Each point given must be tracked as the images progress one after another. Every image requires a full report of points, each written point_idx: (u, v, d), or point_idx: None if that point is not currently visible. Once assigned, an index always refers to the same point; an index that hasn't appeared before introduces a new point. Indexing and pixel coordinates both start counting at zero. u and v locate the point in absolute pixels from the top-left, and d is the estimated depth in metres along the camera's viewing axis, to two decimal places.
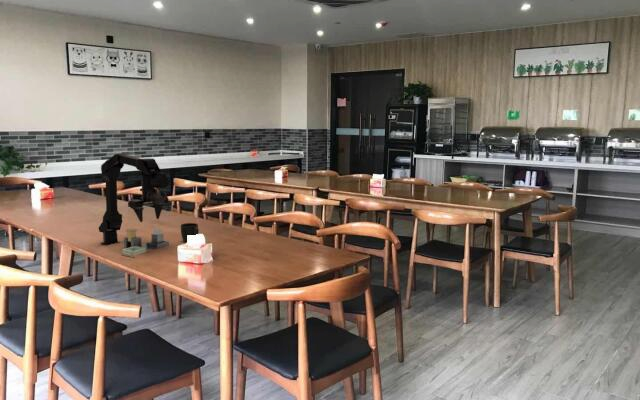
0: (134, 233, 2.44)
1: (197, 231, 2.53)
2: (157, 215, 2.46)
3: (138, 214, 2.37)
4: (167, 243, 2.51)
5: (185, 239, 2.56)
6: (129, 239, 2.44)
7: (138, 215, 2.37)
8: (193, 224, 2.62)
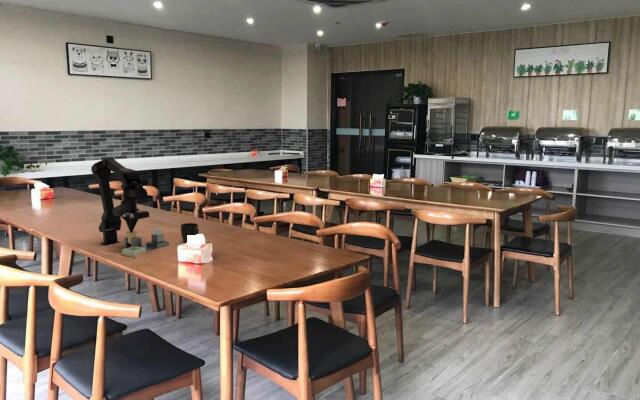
0: (134, 235, 2.44)
1: (197, 231, 2.53)
2: None
3: None
4: (167, 243, 2.51)
5: (185, 239, 2.56)
6: (129, 241, 2.44)
7: None
8: (193, 224, 2.62)
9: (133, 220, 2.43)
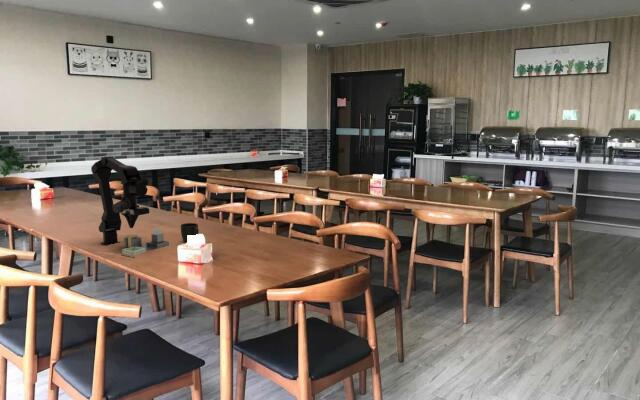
0: None
1: (197, 231, 2.53)
2: None
3: None
4: (167, 243, 2.51)
5: (185, 239, 2.56)
6: (129, 245, 2.44)
7: None
8: (193, 224, 2.62)
9: (133, 216, 2.43)
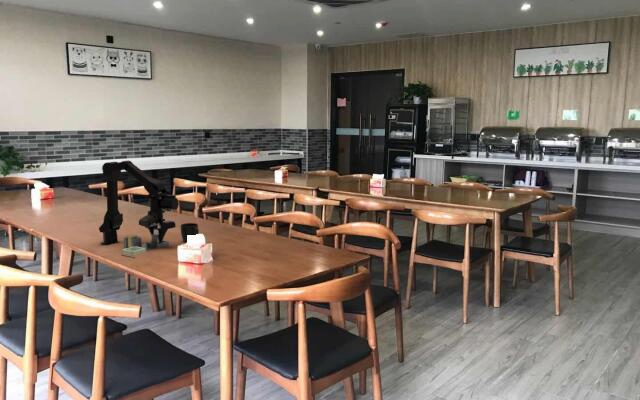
0: None
1: (197, 231, 2.53)
2: None
3: None
4: (167, 243, 2.51)
5: (185, 239, 2.56)
6: (129, 245, 2.44)
7: None
8: (193, 224, 2.62)
9: (162, 230, 2.48)
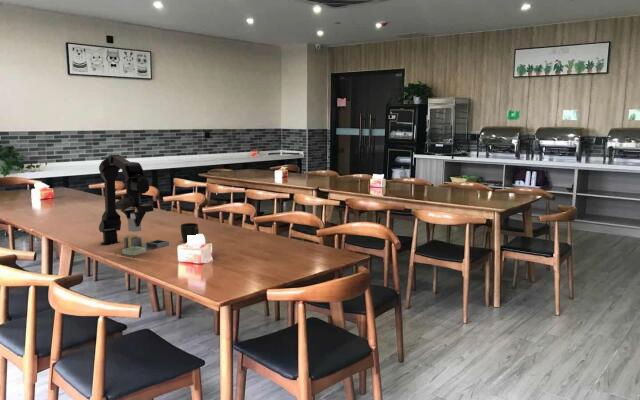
0: None
1: (197, 231, 2.53)
2: None
3: None
4: (167, 243, 2.51)
5: (185, 239, 2.56)
6: (129, 245, 2.44)
7: None
8: (193, 224, 2.62)
9: (139, 214, 2.34)
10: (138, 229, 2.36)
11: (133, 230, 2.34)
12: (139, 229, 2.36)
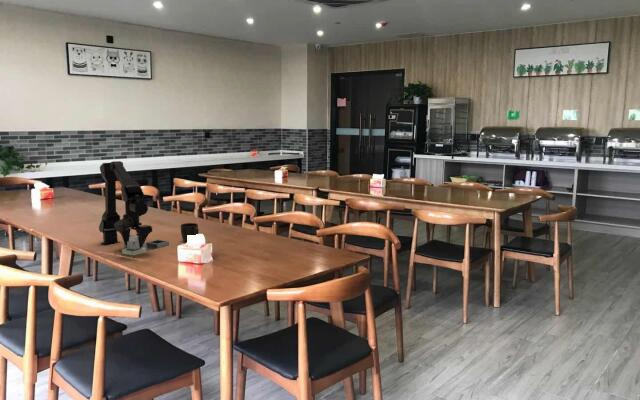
0: None
1: (197, 231, 2.53)
2: None
3: None
4: (167, 243, 2.51)
5: (185, 239, 2.56)
6: None
7: None
8: (193, 224, 2.62)
9: (142, 236, 2.33)
10: None
11: None
12: None
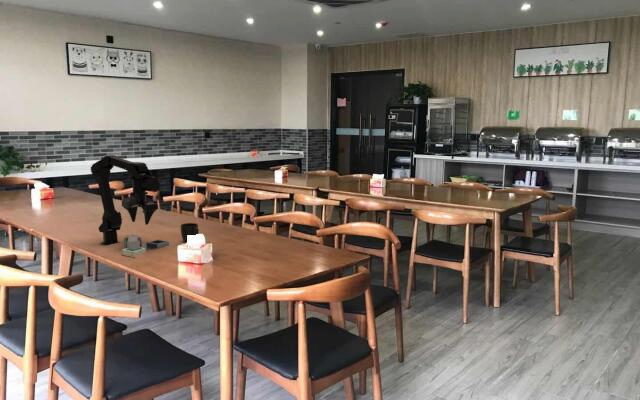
0: None
1: (197, 231, 2.53)
2: None
3: None
4: (167, 243, 2.51)
5: (185, 239, 2.56)
6: None
7: None
8: (193, 224, 2.62)
9: (148, 213, 2.44)
10: None
11: None
12: None
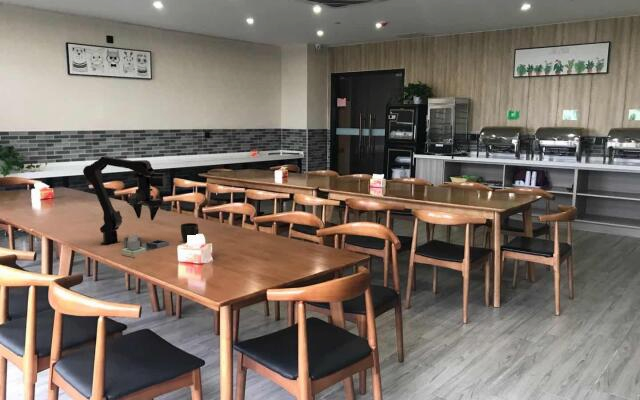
0: None
1: (197, 231, 2.53)
2: None
3: None
4: (167, 243, 2.51)
5: (185, 239, 2.56)
6: None
7: None
8: (193, 224, 2.62)
9: (154, 209, 2.52)
10: None
11: None
12: None
